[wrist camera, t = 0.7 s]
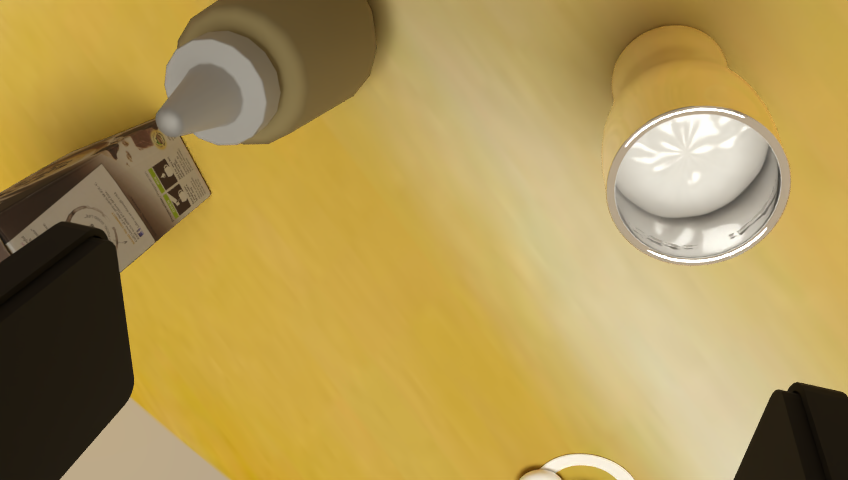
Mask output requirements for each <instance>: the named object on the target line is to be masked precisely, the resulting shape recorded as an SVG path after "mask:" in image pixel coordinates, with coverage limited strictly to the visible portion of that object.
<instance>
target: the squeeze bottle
mask: <svg viewBox="0 0 848 480" xmlns="http://www.w3.org/2000/svg"><path fill="white" fill-rule="evenodd" d="M376 49H377V45H376V37H375V30H374V22H373V15H372V10H371V8H370V6H369V4H368V2H367V0H218V1H216V2H215V3H213V4H212V5H210V6H209V7H207V8H206V9H204V10H203V11H201V12H200V13H199V14H197V15H196V16H194V17H193V18H191V19H190V21H189V23H188V24H187V26H186V28H185V30H184V31H183V33H182V35H181V36H180V38H179V40H178V46H177V49H176V51H175V52H174V54H173V56H172V57H171V59H170V61H169V62H168V64H167V67H166V77H165V89H166V93H167V96H168V99H167V100H166V102H165V103H164V104H163V106H162V107H161V108H160V109H159V111H158V112H157V114H156V124H157V127H158V128H159V130H160V131H161V132H162V133H163V134H165V135H166V136H169V137H178V136H183V135H187V134H191V133H193V134H194V135H196V136H197V137H198V138H200V139H203V140H205V141H208V142H211V143H213V144H216V145H238V144H240V143H241V144H269V143H271V142H273V141H275V140H277V139H279V138H281V137H283V136H285V135H287V134H289V133H291V132H293V131H295V130H296V129H298V128H300V127H301V126H303V125H305V124H306V123H308V122H310V121H312V120H313V119H315V118H317V117H318V116H320V115H322V114H323V113H325V112H327V111H328V110H330V109H332V108H334V107H335V106H337V105H339V104H340V103H342V102H344V101H345V100H347V99H349V98H351V97H352V96H354V94H355V93H356V92H357V91H358V89H359V88H360V87H361V86H362V84H363V83H364V82H365V81H366V79H367V78H368V77H369V75H370V72H371V69H372V65H373V61H374V57H375V53H376Z"/></svg>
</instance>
